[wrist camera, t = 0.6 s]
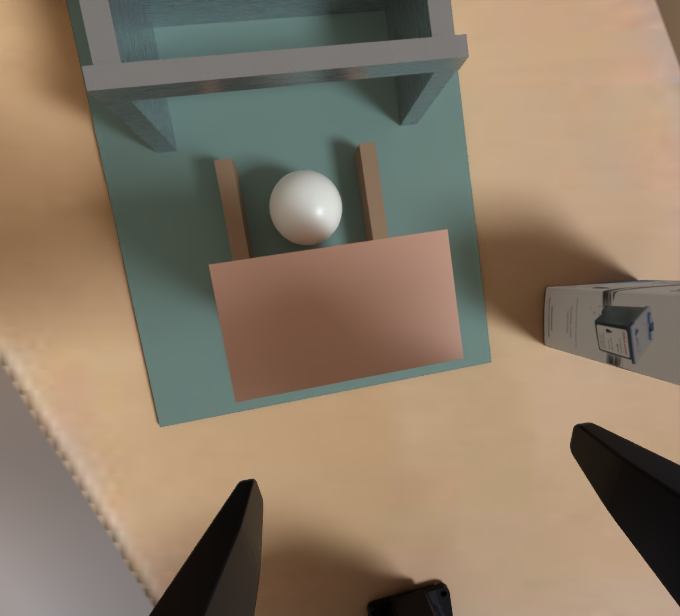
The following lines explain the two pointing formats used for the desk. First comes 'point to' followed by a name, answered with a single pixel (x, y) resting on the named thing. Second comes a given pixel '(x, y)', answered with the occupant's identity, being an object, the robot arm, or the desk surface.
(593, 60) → the desk surface
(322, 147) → the plate
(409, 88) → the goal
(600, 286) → the ink box
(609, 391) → the desk surface
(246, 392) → the salmon orange block
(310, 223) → the ball
